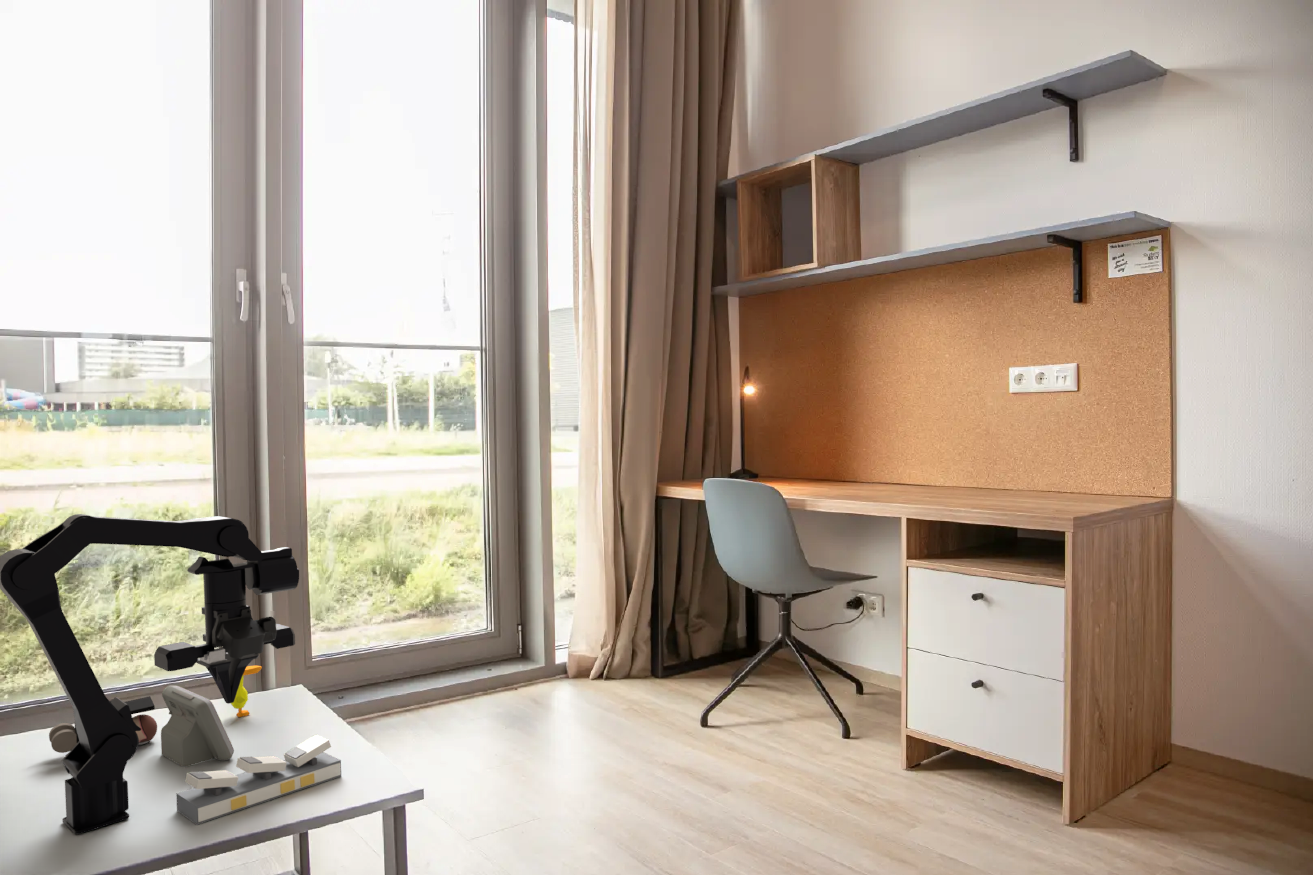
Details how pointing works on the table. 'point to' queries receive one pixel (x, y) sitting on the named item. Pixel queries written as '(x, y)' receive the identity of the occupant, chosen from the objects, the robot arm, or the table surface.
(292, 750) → the rocker far
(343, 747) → the table surface
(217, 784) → the rocker near
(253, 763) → the rocker middle
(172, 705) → the digital clock
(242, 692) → the toy figure
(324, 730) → the table surface
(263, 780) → the switch unit
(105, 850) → the table surface
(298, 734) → the table surface
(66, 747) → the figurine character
